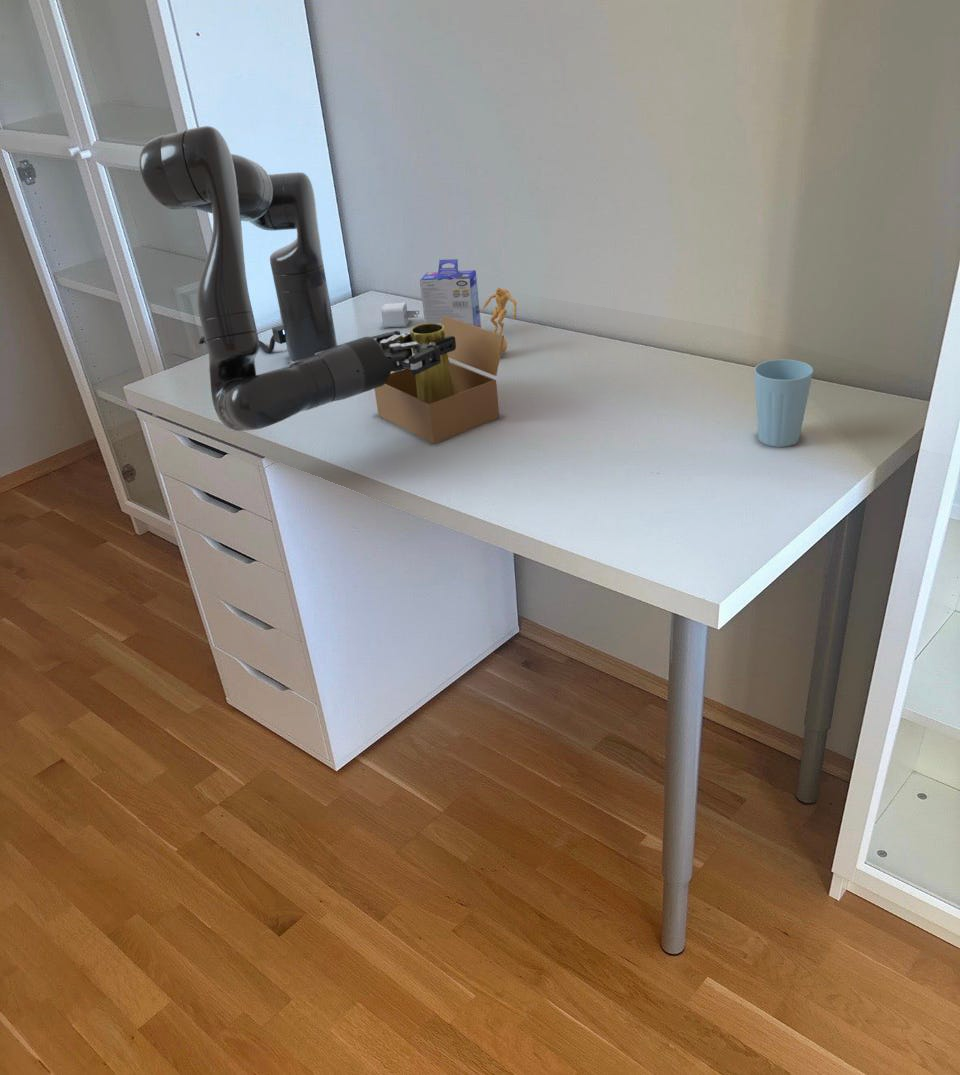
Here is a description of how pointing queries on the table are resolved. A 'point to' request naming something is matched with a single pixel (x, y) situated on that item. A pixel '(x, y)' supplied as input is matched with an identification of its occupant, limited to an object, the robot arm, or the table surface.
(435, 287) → the ink cartridge box
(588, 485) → the table surface
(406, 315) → the usb wall charger
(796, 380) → the cup
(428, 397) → the vase
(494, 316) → the figurine
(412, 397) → the carton
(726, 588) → the table surface
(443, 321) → the flap
